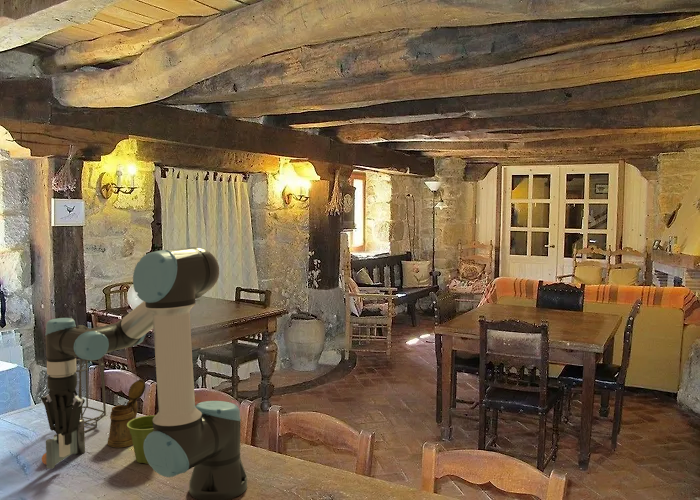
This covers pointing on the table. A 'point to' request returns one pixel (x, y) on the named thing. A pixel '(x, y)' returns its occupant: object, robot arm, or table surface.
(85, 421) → the geometric lantern
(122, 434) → the wooden mug
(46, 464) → the ball
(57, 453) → the grey-green flanged panel
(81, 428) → the hinge post
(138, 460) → the plant pot
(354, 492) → the table surface
